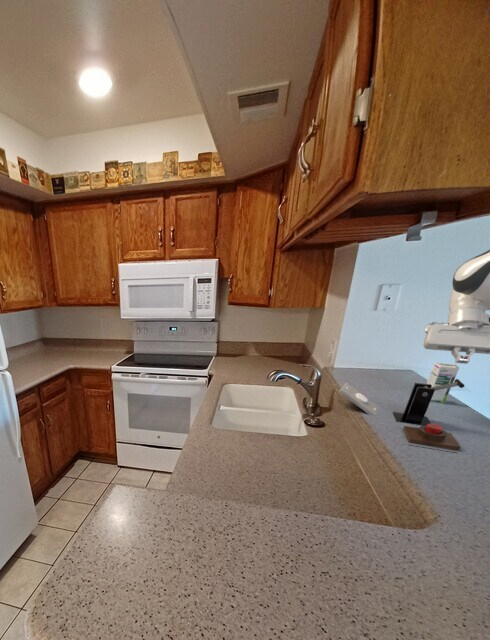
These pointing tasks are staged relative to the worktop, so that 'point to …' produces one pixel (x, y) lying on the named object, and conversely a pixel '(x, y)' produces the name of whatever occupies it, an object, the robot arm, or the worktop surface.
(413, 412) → the bracket
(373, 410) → the light switch
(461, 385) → the switch lever
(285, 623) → the worktop surface
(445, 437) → the button box
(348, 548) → the worktop surface
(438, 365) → the syrup box
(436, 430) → the button
